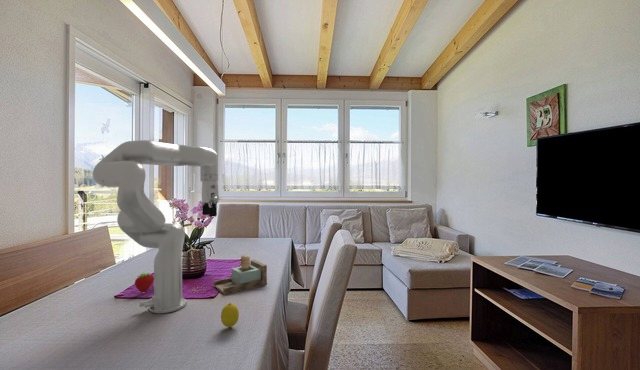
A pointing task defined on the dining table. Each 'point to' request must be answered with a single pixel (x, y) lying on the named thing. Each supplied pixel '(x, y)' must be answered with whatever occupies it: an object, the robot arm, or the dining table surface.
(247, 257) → the oak dowel
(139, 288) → the strawberry
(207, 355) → the dining table surface
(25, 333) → the dining table surface
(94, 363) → the dining table surface
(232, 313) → the lemon
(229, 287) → the track board
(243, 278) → the socket block
